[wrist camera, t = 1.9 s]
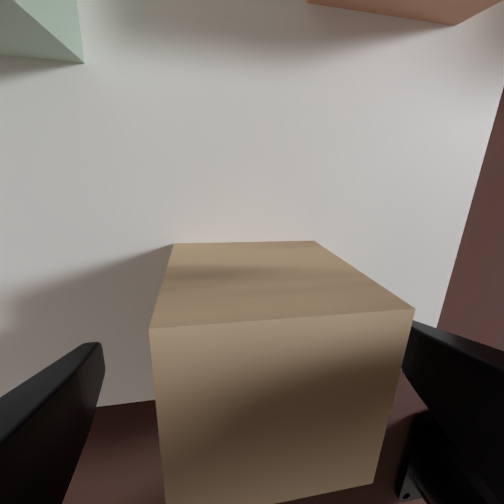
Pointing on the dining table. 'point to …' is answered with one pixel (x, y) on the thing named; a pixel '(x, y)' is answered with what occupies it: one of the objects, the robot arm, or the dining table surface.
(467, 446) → the robot arm
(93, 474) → the dining table surface
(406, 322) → the beech cube
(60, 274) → the board
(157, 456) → the dining table surface
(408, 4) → the terracotta cube
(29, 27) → the pedestal
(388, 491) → the dining table surface
